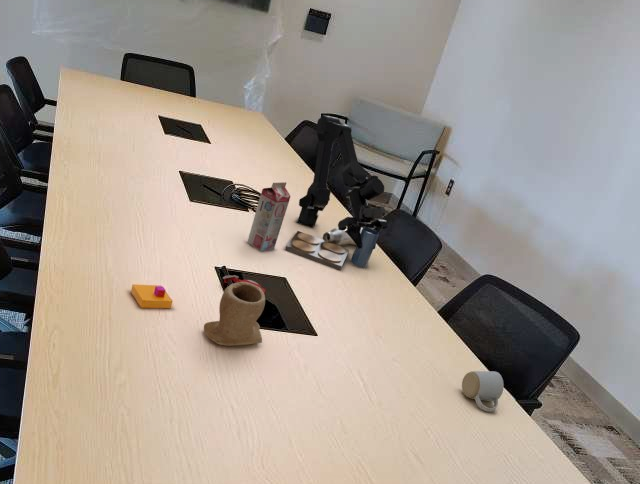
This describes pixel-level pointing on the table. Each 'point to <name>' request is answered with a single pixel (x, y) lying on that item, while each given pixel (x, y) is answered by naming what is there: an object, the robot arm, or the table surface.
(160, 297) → the orange tile with cube
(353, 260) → the tumbler
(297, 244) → the coaster board
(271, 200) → the juice carton
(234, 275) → the tracker holder
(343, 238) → the silver metal bottle
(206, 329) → the stone cup
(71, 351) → the table surface
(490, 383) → the ceramic mug
